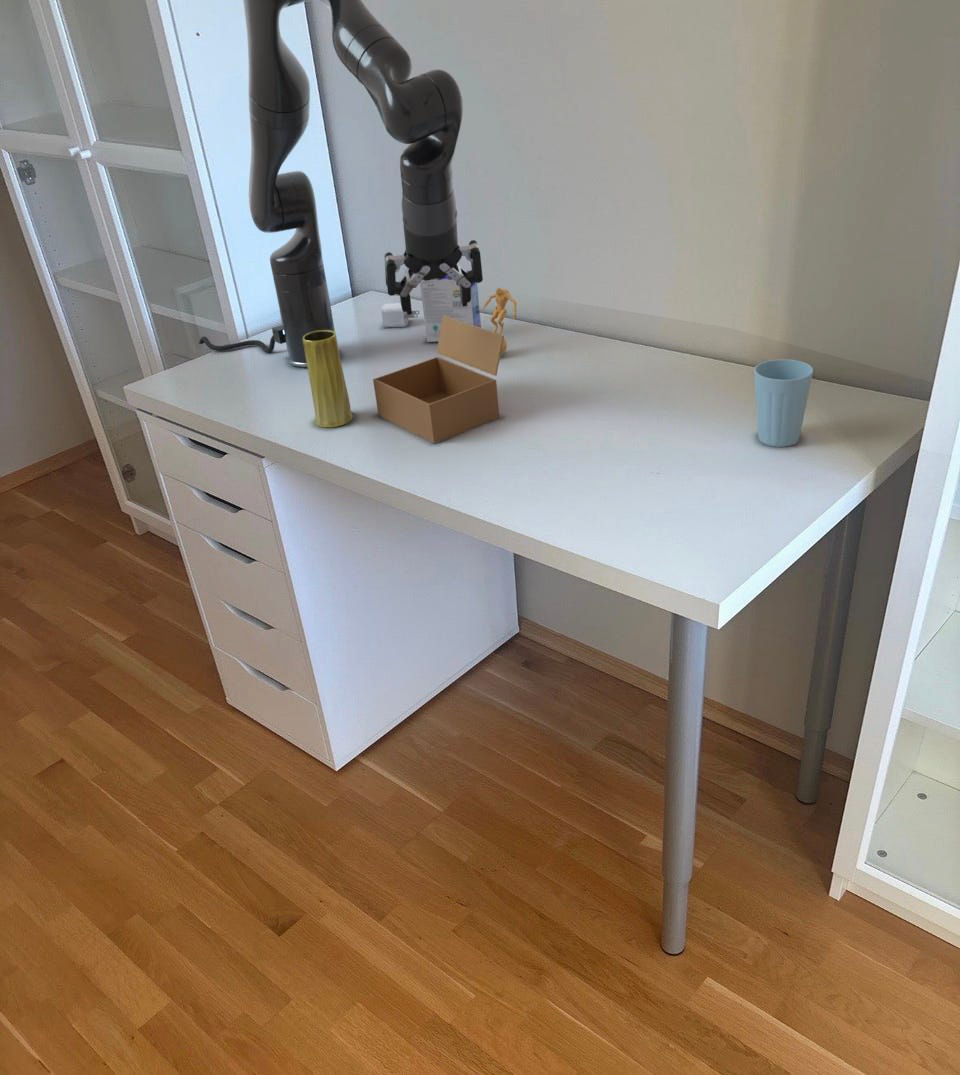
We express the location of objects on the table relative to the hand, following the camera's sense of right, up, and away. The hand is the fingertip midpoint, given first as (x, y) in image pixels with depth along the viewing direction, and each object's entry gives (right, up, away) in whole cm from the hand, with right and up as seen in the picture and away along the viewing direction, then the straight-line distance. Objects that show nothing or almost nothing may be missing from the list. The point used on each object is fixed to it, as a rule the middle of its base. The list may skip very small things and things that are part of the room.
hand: (436, 307), depth 151 cm
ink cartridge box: (+2, +3, +38) cm, 38 cm away
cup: (+49, -21, -12) cm, 55 cm away
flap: (+5, -5, +4) cm, 8 cm away
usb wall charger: (-9, +7, +47) cm, 49 cm away
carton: (0, -16, +6) cm, 17 cm away
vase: (-17, -16, +8) cm, 25 cm away
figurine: (+10, -2, +28) cm, 30 cm away
